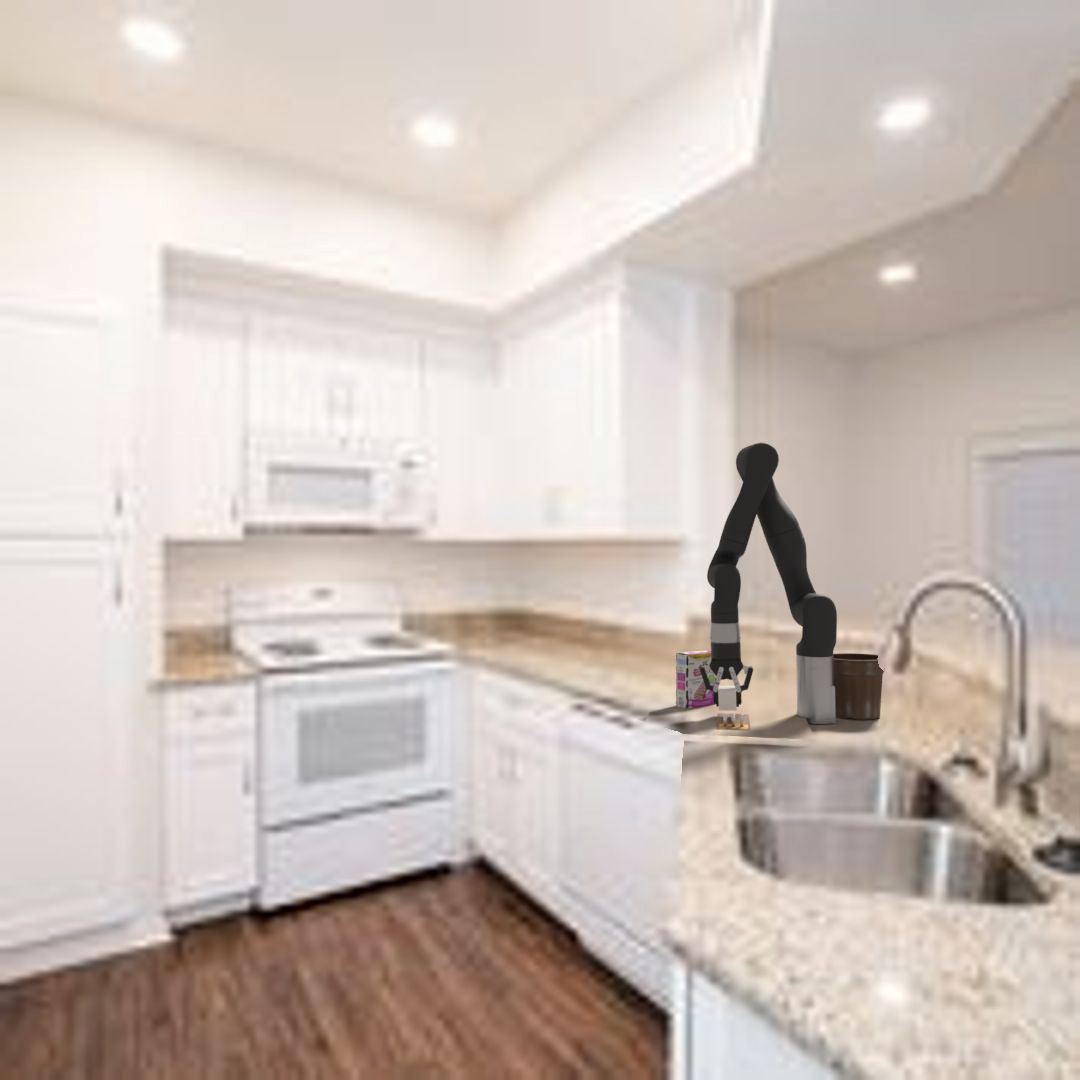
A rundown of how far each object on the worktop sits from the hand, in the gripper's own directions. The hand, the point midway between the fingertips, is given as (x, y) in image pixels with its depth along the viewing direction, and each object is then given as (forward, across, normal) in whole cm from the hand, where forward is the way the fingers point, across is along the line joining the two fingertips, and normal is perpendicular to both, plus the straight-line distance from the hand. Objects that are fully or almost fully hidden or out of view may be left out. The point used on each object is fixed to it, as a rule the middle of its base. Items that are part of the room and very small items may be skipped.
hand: (727, 705), depth 208 cm
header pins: (+3, -1, +10) cm, 11 cm away
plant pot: (+6, -33, -17) cm, 38 cm away
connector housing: (0, 0, 0) cm, 0 cm away
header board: (+5, -1, +4) cm, 6 cm away
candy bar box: (+5, +9, -17) cm, 19 cm away
